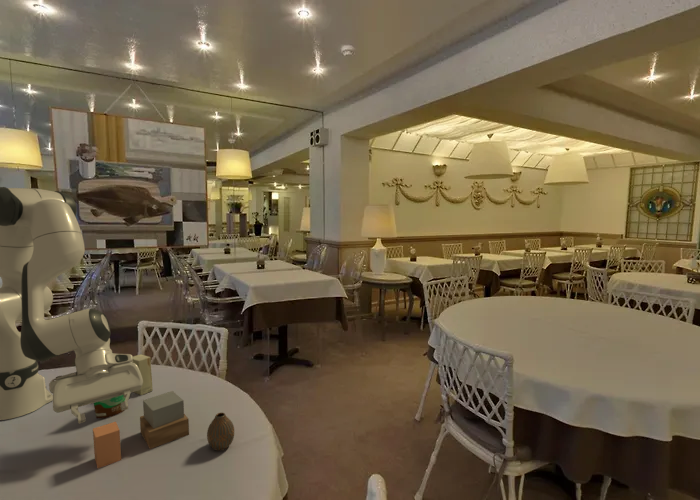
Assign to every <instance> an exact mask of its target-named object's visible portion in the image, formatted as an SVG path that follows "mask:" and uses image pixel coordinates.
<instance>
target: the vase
mask: <svg viewBox="0 0 700 500" xmlns="http://www.w3.org/2000/svg"><path fill="white" fill-rule="evenodd" d="M206 438H207V443H208V445H209V447H211V449H212V450H215V451H224V450H227V448H228V447H230V445H232V443H233V441H234V438H235V426H234V424H233V421H232V420H231V419H230V418H229V417H228V416H227V415H226V413H225V412H218V413H216V414H215V415H214V418H213V419H212V421H211V422H210V423H209V426H208V428H207V431H206Z"/></svg>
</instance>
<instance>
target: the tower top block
mask: <svg viewBox="0 0 700 500" xmlns="http://www.w3.org/2000/svg"><path fill="white" fill-rule="evenodd" d="M184 404H185V403H184V399H183V398H181V396H180V395H178V394H177V393H176V392H174V391H173V390H171V391H168V392H165V393H161V394H158V395H156V396H155V395H154V396H152V397H148V398H145V399H143V400H142V405H143V416H144V418H145V419H146V420H147V421H148V423H149V424H150V425H151V426H152V427H153V428H157V427H160V426H162V425H165V424H168V423H170V422H173V421H176V420H178V419H181V418H184V414H185V408H184V406H185V405H184Z"/></svg>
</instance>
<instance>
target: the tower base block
mask: <svg viewBox="0 0 700 500" xmlns="http://www.w3.org/2000/svg"><path fill="white" fill-rule="evenodd" d="M189 421H190V420H189V418H188V416H187V415H186V414H185V413H184V418H181V419H178V420H176V421H173V422H170V423H168V424H165V425H162V426H160V427H157V428H153V427H152V426H151V425H150V424H149V423H148V421H147V420H146V419H145V418H144V415H140V416H139V423H140V424H139V425H140V427H139V428H140V429H139V430H140V433H141V436H142V438H143V439H144V441H145V443H146V445H147V447H148V448H149V450H152V449H154V448H157V447H159V446H162V445H165V444H168V443H170V442H173V441H176V440H179V439H182V438H185V437H187V436H190V429H189V428H190V425H189Z"/></svg>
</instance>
